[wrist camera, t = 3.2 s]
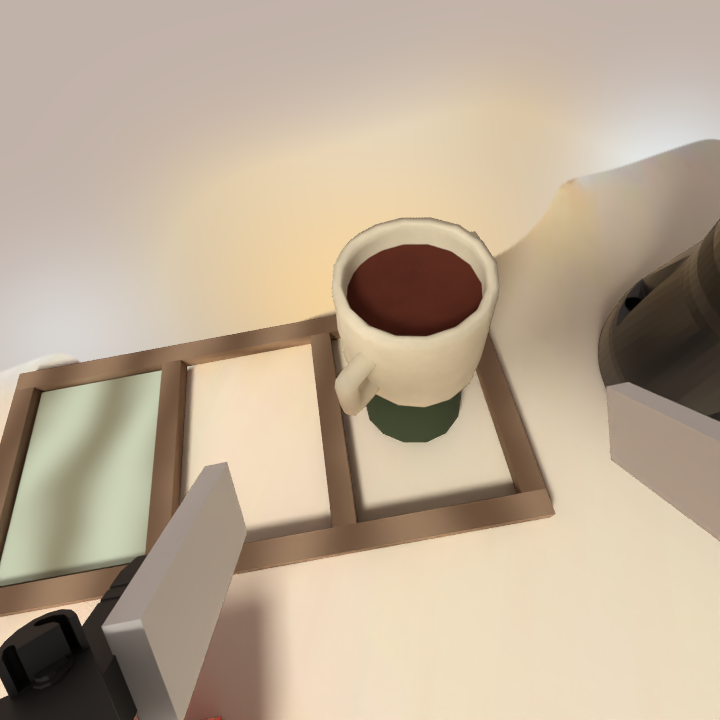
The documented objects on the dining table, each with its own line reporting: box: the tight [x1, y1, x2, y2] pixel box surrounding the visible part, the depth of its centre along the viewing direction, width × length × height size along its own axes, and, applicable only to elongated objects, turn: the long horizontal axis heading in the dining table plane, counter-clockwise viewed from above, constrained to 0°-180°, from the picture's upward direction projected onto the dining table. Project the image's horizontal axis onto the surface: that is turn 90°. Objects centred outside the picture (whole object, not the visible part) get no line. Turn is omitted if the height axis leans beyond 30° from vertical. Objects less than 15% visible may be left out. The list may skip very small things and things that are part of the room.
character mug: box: [332, 218, 499, 442], centre depth 24 cm, size 11×7×13 cm, turn 141°
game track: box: [0, 315, 555, 617], centre depth 29 cm, size 34×16×1 cm, turn 99°
